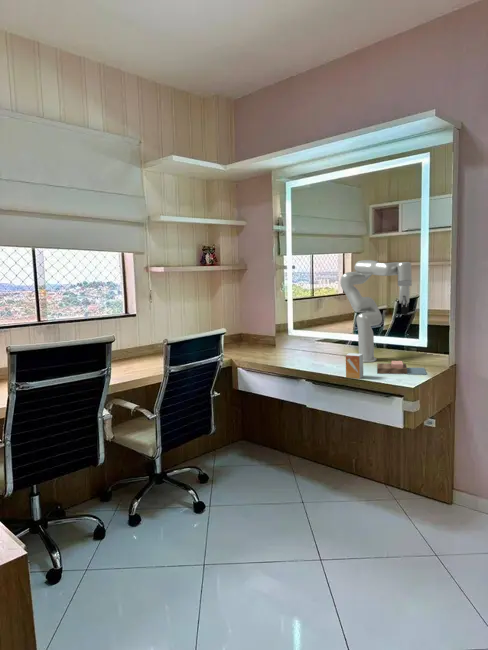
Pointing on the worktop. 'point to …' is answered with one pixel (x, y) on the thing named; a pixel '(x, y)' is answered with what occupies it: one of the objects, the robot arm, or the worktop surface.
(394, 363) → the tile
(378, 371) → the platform
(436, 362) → the worktop surface
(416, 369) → the mat
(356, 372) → the small box
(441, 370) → the worktop surface
